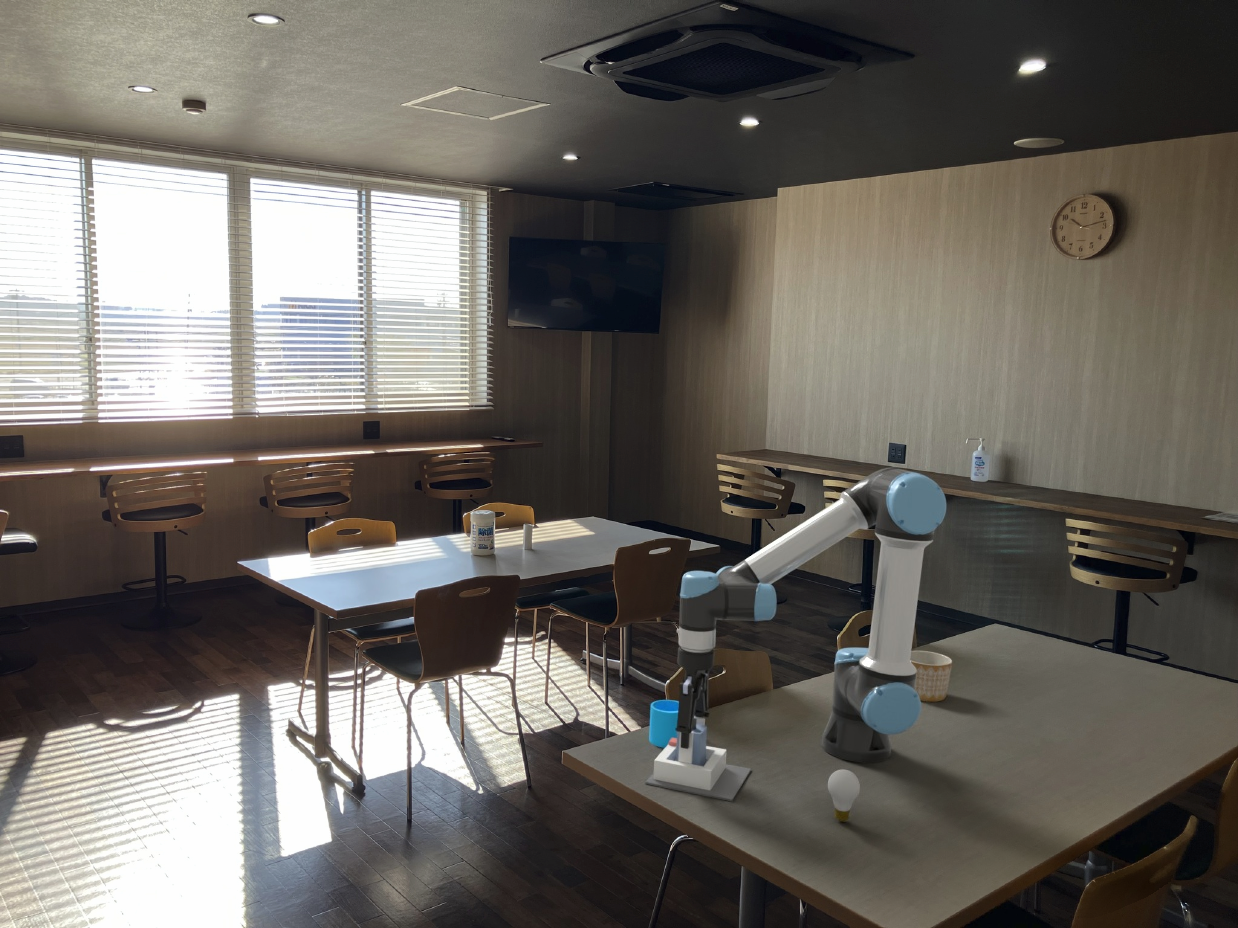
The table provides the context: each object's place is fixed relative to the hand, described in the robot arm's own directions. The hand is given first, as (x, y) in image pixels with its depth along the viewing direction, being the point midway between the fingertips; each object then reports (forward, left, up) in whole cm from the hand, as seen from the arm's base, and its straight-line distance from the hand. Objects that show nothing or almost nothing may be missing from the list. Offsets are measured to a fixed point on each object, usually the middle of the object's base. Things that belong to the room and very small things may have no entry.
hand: (691, 754), depth 198 cm
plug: (0, 0, -2) cm, 2 cm away
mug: (+9, -17, -5) cm, 20 cm away
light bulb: (-32, +7, -5) cm, 33 cm away
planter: (-42, -76, -5) cm, 87 cm away
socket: (-2, 0, -4) cm, 5 cm away
